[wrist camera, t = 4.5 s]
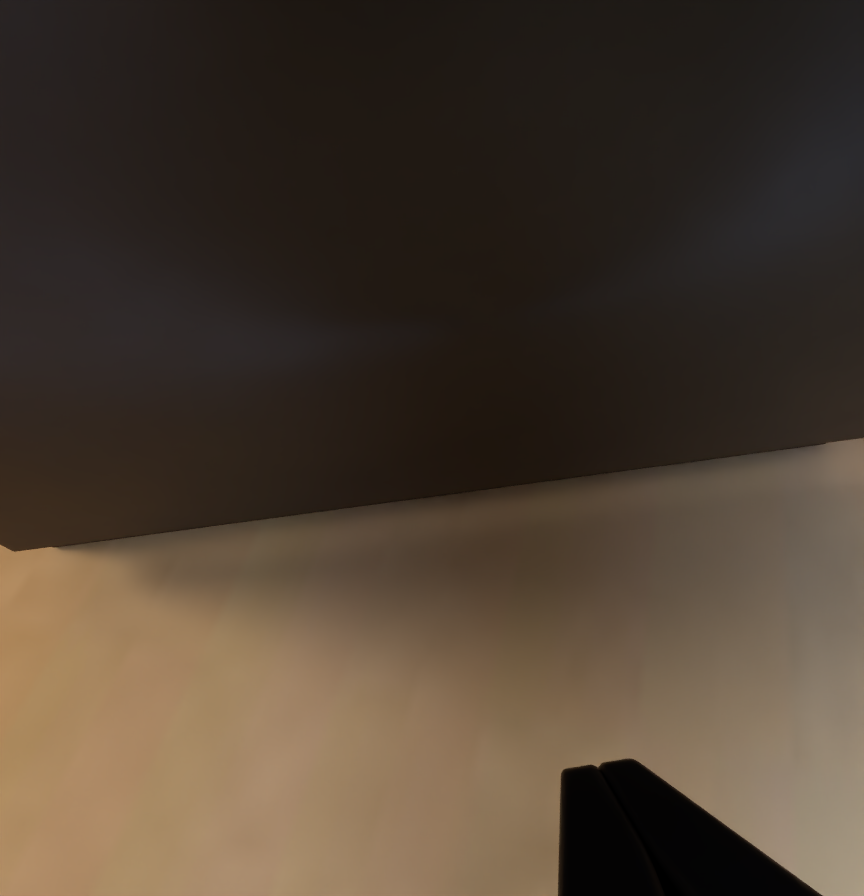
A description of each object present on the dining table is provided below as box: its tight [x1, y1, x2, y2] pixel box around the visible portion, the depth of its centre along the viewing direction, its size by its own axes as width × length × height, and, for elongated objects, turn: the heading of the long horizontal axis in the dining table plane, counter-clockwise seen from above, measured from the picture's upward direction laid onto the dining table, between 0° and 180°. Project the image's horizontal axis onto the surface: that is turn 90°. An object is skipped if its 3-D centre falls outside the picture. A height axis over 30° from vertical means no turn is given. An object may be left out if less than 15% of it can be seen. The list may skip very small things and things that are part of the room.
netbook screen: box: [0, 0, 864, 552], centre depth 11 cm, size 15×22×1 cm
